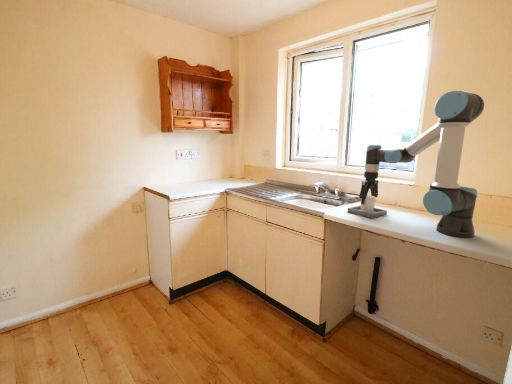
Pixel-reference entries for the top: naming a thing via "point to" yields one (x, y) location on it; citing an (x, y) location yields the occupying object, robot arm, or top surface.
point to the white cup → (369, 204)
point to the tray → (358, 211)
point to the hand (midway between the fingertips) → (367, 208)
